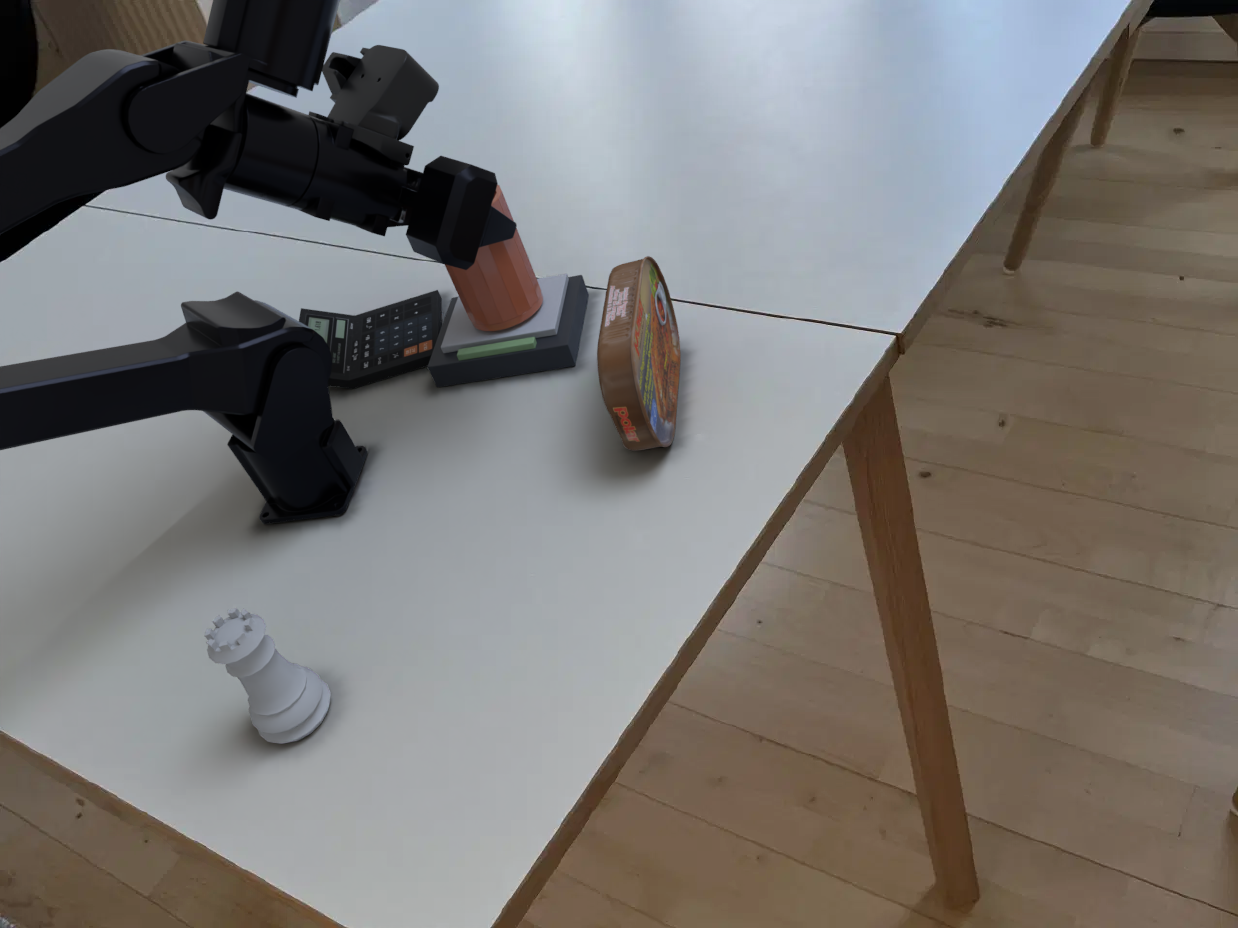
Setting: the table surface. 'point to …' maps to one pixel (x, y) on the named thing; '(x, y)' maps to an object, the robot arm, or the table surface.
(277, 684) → the rook chess piece
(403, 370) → the calculator
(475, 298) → the cup
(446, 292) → the table surface
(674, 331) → the tin
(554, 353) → the scale
